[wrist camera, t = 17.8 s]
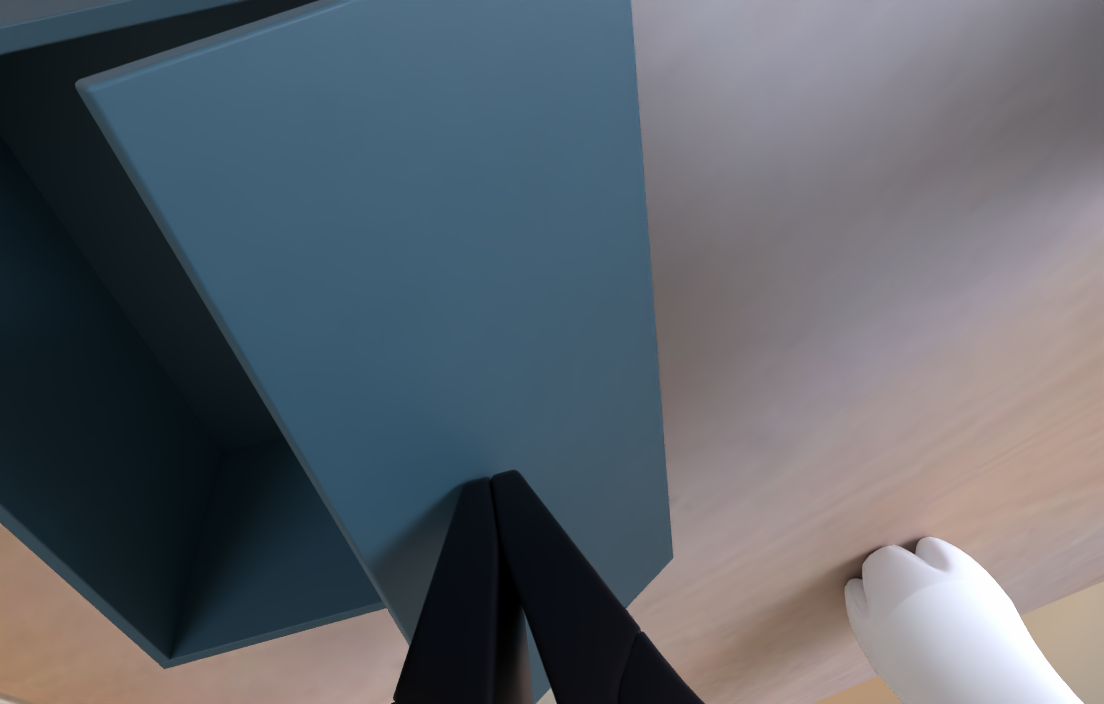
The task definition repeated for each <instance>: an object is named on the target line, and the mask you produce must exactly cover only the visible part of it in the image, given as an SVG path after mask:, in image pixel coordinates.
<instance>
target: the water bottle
mask: <svg viewBox="0 0 1104 704" xmlns="http://www.w3.org/2000/svg"><path fill="white" fill-rule="evenodd" d="M862 576H863V580H862V579H851V580H849V581H848V583H847V584H846V586H845V589H844V591H845V604H846V610H847V615H848V619H849V622H850V625H851V628H852V630H853V633H854V635H855V637H856V639H857V641H858V643H859V645H860V647H861V648H862V650H863V652H864V654H865V655H866V657H867V659H868V661H869V662H870V664H871V666H872V667H873V669H874V671H875V672H876V673H877V674H878V675H879V676H880V677H881V678H882V680H883V681H884V682H885V683H886V684H887V685H888V686H889V687H890V689H891V690H892V691H893V692H894V693H895V694H896V696H897V697H898V698H899V699H900V701H901V702H902V703H903V704H1084V703H1083V702H1082V701H1081V700H1080V699H1079V698H1078V697H1077V696H1076V695H1075V694H1074V693H1073V692H1072V690H1071V689H1070V688H1069V687H1068V686H1067V685H1066V683H1065V682H1064V681H1063V680H1062V679H1061V678H1060V676H1059V675H1058V674H1057V673H1056V672H1055V670H1054V669H1053V668H1052V666H1051V665H1050V664H1049V662H1048V661H1047V660H1046V659H1045V657H1044V656H1043V654H1042V653H1041V651H1040V650H1039V648H1038V647H1037V645H1036V644H1035V642H1034V641H1033V639H1032V637H1031V636H1030V634H1029V632H1028V631H1027V629H1026V627H1025V625H1024V623H1023V622H1022V620H1021V618H1020V616H1019V614H1018V612H1017V610H1016V608H1015V606H1014V604H1013V602H1012V601H1011V599H1010V598H1009V597H1008V596H1007V594H1006V593H1005V592H1004V591H1003V590H1002V588H1001V587H1000V586H999V585H998V584H997V582H996V581H995V580H994V579H993V578H992V577H991V576H990V575H989V573H988V572H987V571H986V570H985V569H984V568H983V567H981V566H980V565H979V564H978V563H977V562H976V561H974V560H973V559H972V558H971V557H970V556H969V555H967V554H966V553H964V552H963V551H961V550H960V549H958V548H957V547H955V546H953V545H951V544H949V543H947V542H945V541H943V540H941V539H938V538H934V537H925V538H922V539H920V540H919V542H918V543H917V546H916V552H915V554H913V553H911V552H909V551H908V550H906V549H904V548H902V547H899V546H897V545H891V546H885V547H882V548H880V549H878V550H877V551H875V552H873V553H872V554H870V555H869V556H868V558H867V559H866V561H864V563H863V566H862Z"/></svg>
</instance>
